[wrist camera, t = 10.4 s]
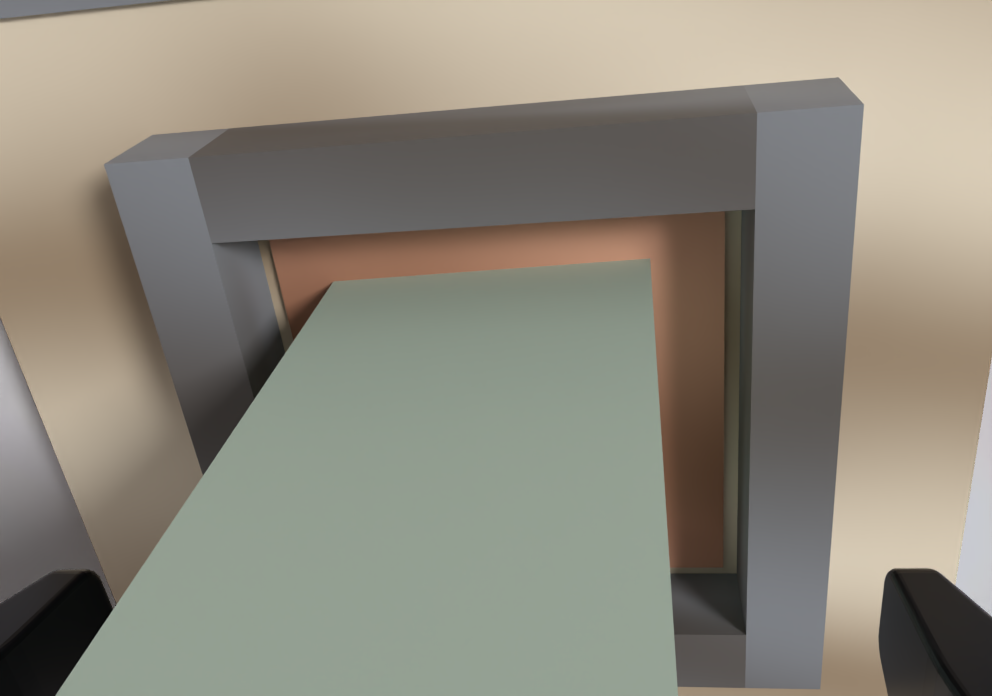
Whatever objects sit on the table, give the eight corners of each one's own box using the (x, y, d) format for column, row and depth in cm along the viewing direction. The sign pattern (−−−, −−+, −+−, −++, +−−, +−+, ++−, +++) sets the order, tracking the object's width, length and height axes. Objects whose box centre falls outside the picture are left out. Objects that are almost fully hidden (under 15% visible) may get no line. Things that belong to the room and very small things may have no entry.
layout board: (919, 680, 15) (958, 790, 13) (175, 667, 17) (124, 761, 15) (1096, -549, 8) (1229, -660, 6) (-200, -316, 10) (-372, -349, 8)
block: (665, 520, 13) (714, 1313, 6) (391, 527, 14) (142, 1248, 7) (650, 259, 11) (696, 960, 4) (334, 281, 12) (-93, 915, 5)
